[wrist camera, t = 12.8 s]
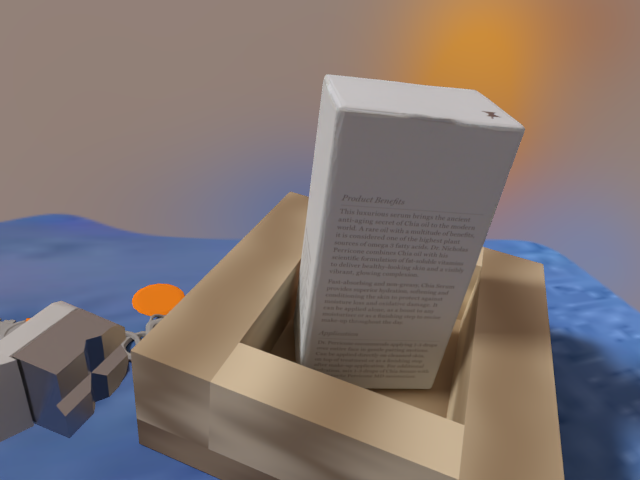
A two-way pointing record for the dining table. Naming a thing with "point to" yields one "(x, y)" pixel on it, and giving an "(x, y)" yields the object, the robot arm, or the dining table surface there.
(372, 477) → the socket block
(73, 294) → the dining table surface
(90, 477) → the dining table surface
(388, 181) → the skincare box
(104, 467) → the dining table surface
